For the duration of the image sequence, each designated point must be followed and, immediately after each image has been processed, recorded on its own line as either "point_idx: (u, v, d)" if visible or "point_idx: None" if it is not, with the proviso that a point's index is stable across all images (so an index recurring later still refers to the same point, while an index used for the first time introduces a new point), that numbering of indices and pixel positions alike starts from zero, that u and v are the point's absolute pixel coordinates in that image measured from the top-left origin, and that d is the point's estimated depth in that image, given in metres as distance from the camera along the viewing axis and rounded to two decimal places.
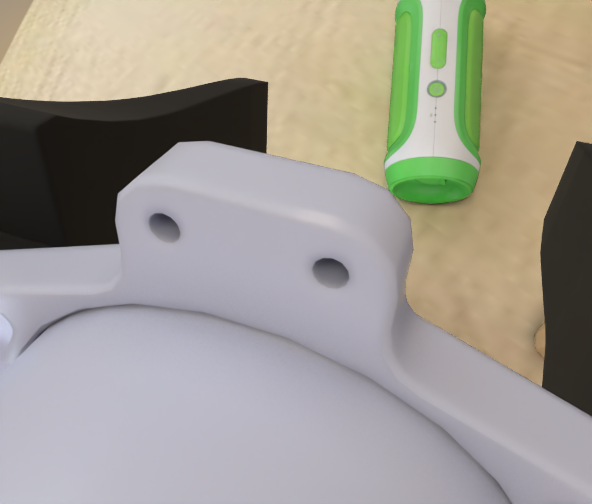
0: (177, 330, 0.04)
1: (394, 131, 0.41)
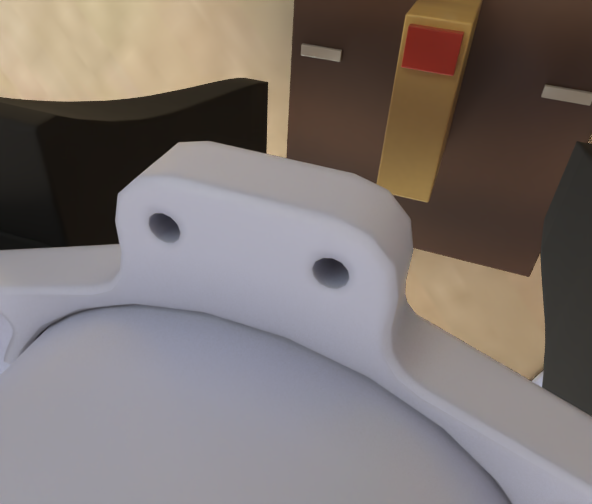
0: (177, 330, 0.04)
1: None
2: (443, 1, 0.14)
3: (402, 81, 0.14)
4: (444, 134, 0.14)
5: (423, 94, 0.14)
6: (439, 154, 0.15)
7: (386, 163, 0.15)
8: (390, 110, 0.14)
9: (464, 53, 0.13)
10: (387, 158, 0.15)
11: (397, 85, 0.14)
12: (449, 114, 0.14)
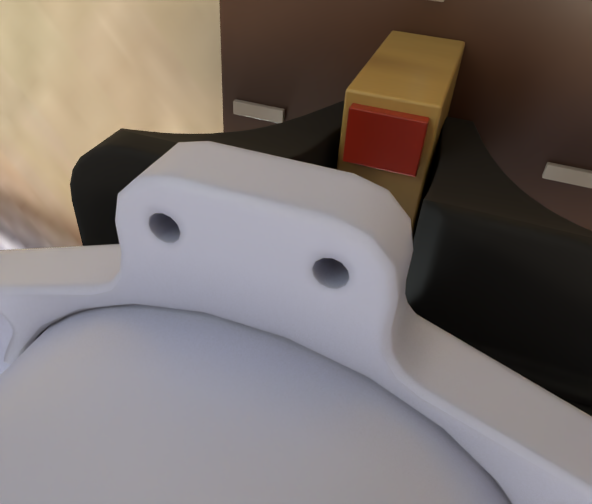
0: (177, 330, 0.04)
1: None
2: (405, 63, 0.10)
3: None
4: None
5: None
6: None
7: None
8: None
9: (431, 145, 0.09)
10: None
11: None
12: (413, 222, 0.10)
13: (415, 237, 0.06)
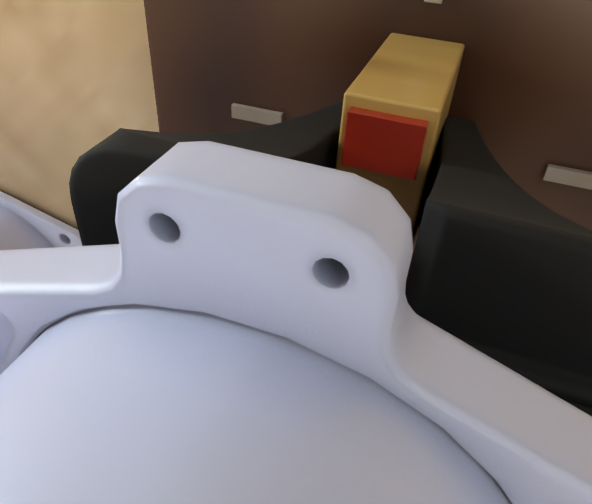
0: (177, 330, 0.04)
1: None
2: (404, 65, 0.10)
3: None
4: None
5: None
6: None
7: None
8: None
9: (430, 149, 0.09)
10: None
11: None
12: (412, 226, 0.10)
13: (418, 238, 0.06)
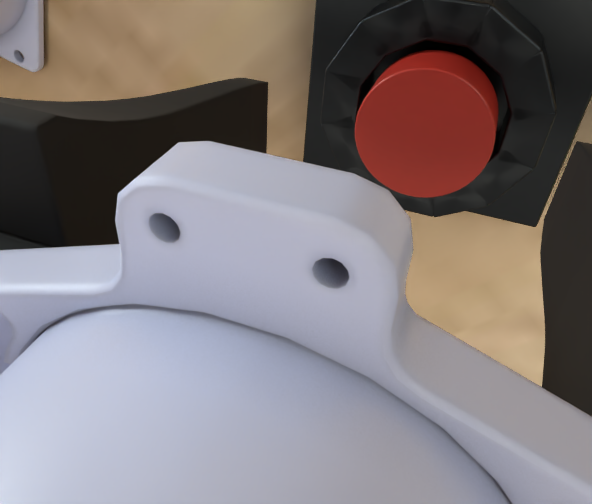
0: (177, 330, 0.04)
1: None
2: None
3: None
4: None
5: None
6: None
7: None
8: None
9: None
10: None
11: None
12: None
13: None
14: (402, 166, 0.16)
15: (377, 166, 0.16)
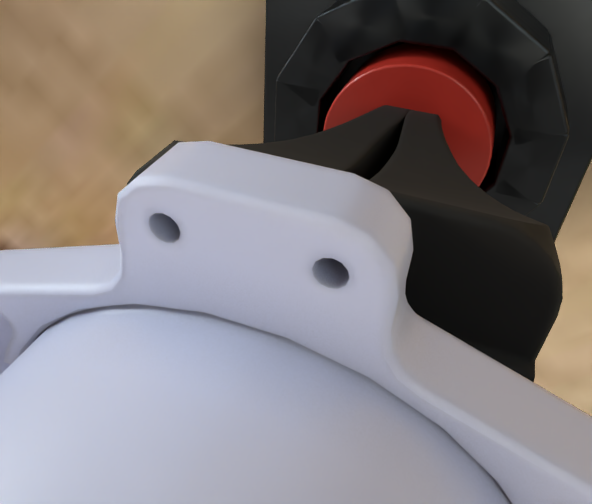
0: (177, 330, 0.04)
1: None
2: None
3: None
4: None
5: None
6: None
7: None
8: None
9: None
10: None
11: None
12: None
13: None
14: None
15: None
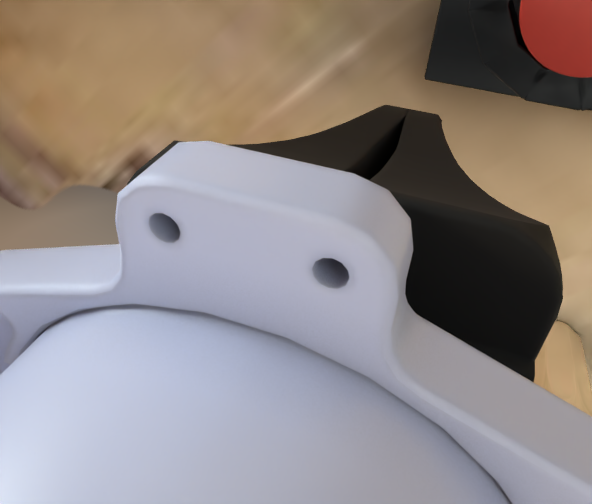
0: (177, 330, 0.04)
1: None
2: None
3: None
4: None
5: None
6: None
7: None
8: None
9: None
10: None
11: None
12: None
13: None
14: (569, 41, 0.15)
15: (540, 43, 0.16)
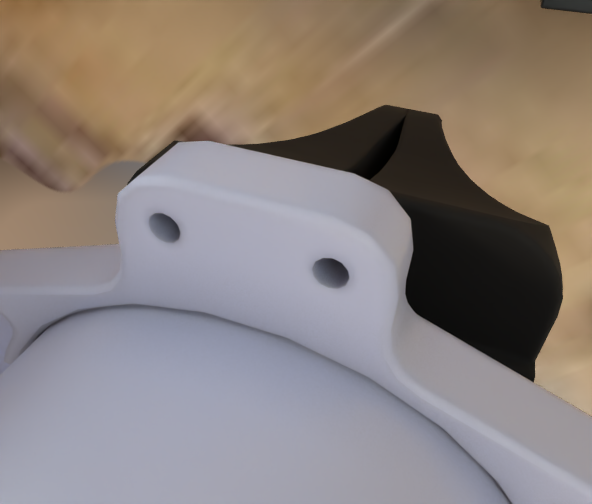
0: (177, 330, 0.04)
1: None
2: None
3: None
4: None
5: None
6: None
7: None
8: None
9: None
10: None
11: None
12: None
13: None
14: None
15: None
